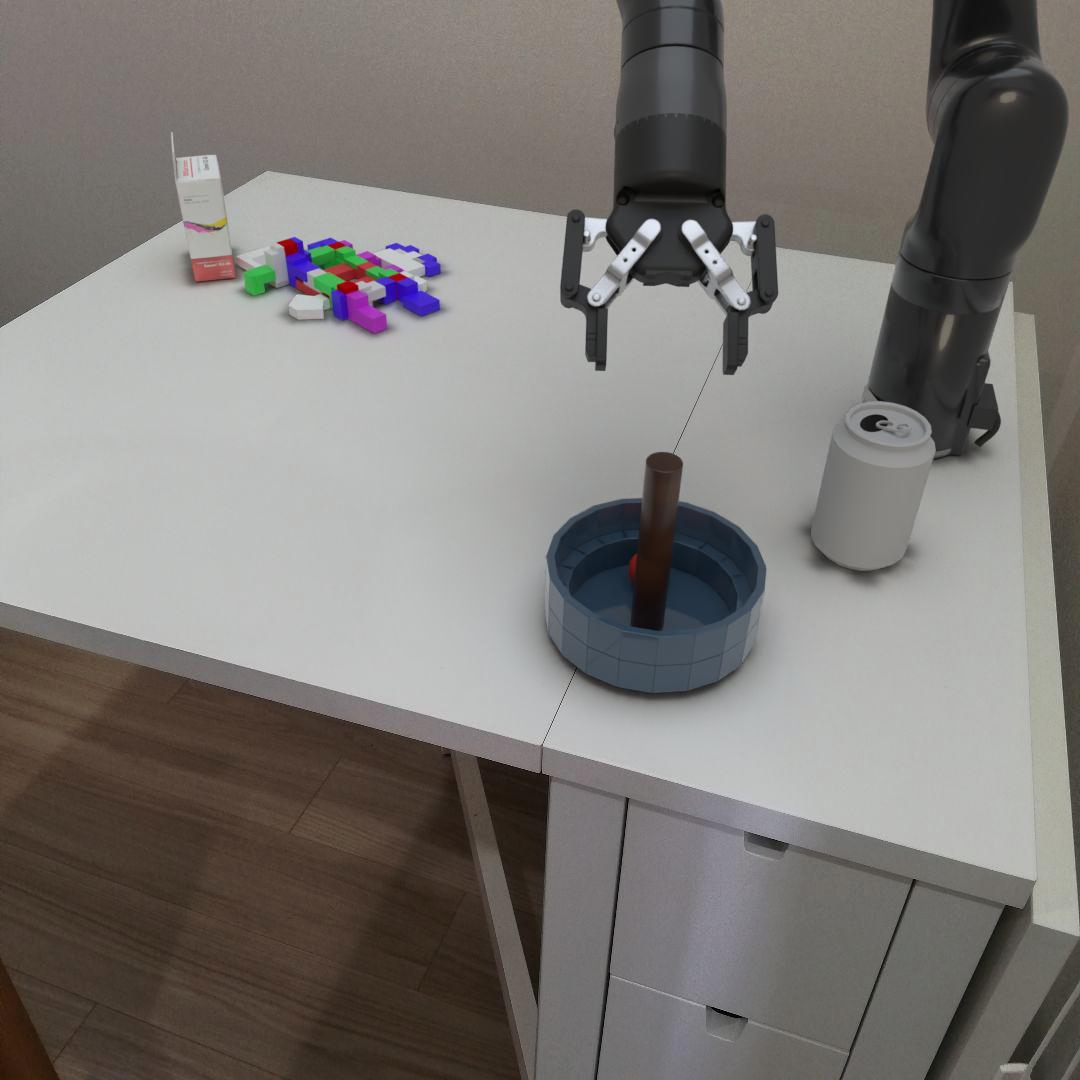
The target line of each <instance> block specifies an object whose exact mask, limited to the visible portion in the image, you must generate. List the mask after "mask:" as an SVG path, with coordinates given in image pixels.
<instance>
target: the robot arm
mask: <svg viewBox="0 0 1080 1080" xmlns="http://www.w3.org/2000/svg"><path fill="white" fill-rule="evenodd" d="M615 2H616V4H617V8H618V11H619V14H620V18H621V19H620V20H621V25H622V26H621V40H620V41H621V42H620V45H621V46H620V48H621V49H620V78H619V85H618V91H617V99H616V104H615V125H614V128H613V137H614V138H613V139H614V163H613V166H614V167H613V197H612V198H613V200H612V202H613V203H612V210H611V212H610V214H609V216H608V218H601V217H600V218H599V217H587V216H585V213H584V212H583V210H580V209H572V210H570V211H569V212H568V213H567V214H566V215H567V216H566V224H565V235H564V244H563V254H562V265H561V273H560V274H561V275H560V285H559V295H560V296H559V300H560V304H561V306H562V307H564V308H565V309H574V310H577V311H579V312H581V313H582V314H583V315H584V317H585V342H584V343H585V346H584V347H585V348H584V349H585V350H584V355H585V358H586V361H587V363H594V371H595V372H606V369H607V357H608V325H609V324H608V320H609V308H610V307H611V306H612V304H613V303H614V302H615V301H616V300H617V298H618V297H620V296H621V295H622V294H623V293H624V292H625V291H626V289H627V288H628V287H629V286H630V285H631V283H632V282H633V281H634V280H636V281H637V282H639V283H642V286H643V287H657V286H661V285H670V286H674V287H677V288H689V287H690V285H692V284H696V283H698V285H699V286H700V287H701V289H702V290H703V291H704V292H705V294H706V295H707V297H709V299H711V300H713V301H714V302H715V303H716V304H717V306H718V307H719V308H720V310H721V311H722V312H723V314H724V315H725V318H724V320H723V323H722V375H723V376H734V375H735V374H736V372H737V370H738V368H741V367H742V366H743V365H744V363H745V361H746V359H747V357H748V354H749V318H750V317H753V316H755V315H758V314H761V315H765V314H767V313H769V311H770V310H771V309H772V307H773V305H774V302H776V300H777V298H778V296H779V279H778V264H777V263H778V262H777V260H778V259H777V243H776V228H775V227H776V226H775V219H774V218H773V217H772V216H771V215H770V214H765V213H764V214H760V215H758V217H757V218H756V220H751V221H749V220H748V221H746V220H745V221H733V220H732V219H731V217H730V215H729V214H728V211H727V203H726V202H727V199H726V198H727V197H726V196H727V143H728V142H727V141H728V140H727V138H728V137H727V133H728V132H727V131H728V130H727V129H728V118H727V117H728V100H727V99H728V98H727V90H726V85H725V70H724V69H725V13H724V5H723V2H722V0H615ZM1038 13H1039V12H1038V0H932V15H931V31H930V33H931V34H930V52H929V65H928V75H927V86H926V97H925V98H926V99H925V121H926V127H927V131H928V134H929V137H930V139H931V142H932V144H933V145H934V146H933V150H932V155H931V159H930V163H929V167H928V171H927V174H926V178H925V182H924V186H923V190H922V194H921V196H920V201H919V204H918V207H917V210H916V211H915V212H914V213H912V214H911V215H910V216H909V218H908V219H907V221H906V222H905V226H904V229H903V232H902V237H901V240H900V245H899V250H898V253H897V258H896V262H895V266H894V269H893V270H894V271H893V273H892V279H891V283H890V288H889V291H888V294H887V295H888V296H887V300H886V303H885V308H884V312H883V316H882V321H881V325H880V328H879V333H878V337H877V342H876V345H875V350H874V354H873V359H872V363H871V367H870V371H869V375H868V379H867V384H864V389H863V393H862V399H863V400H862V403H865V402H875V401H882V402H890V403H895V404H899V405H903V406H906V407H908V408H910V409H913V410H915V411H917V412H918V413H919V414H921V415H922V416H924V417H925V418H926V419H927V421H928V422H929V424H930V425H931V430H932V433H931V435H930V436H931V438H932V439H933V441H934V442H935V449H936V451H935V455H934V458H933V459H937V458H942V457H946V456H948V455H954V456H963V453H964V449H965V446H966V443H967V440H968V437H969V434H970V430H971V429H977V430H985V432H984V433H983V434H982V435H980V436H979V437H977V438H976V439H975V440H974V441H973V443H974V444H975V446H977V447H979V448H982V446H983V445H985V444H986V443H987V442H989V441H990V440H991V439H992V438H993V437H994V436H995V435H996V434H997V433H998V432H999V429H1000V427H1001V424H1002V418H1001V414H1000V411H999V406H998V405H999V404H998V402H997V401H998V400H997V397H996V392H995V388H994V384H993V383H987V382H986V380H987V377H988V375H989V371H990V368H991V363H992V362H991V361H992V360H991V357H990V353H989V349H990V346H991V342H992V340H993V336H994V332H995V329H996V326H997V322H998V319H999V316H1000V313H1001V311H1002V307H1003V304H1004V301H1005V296H1006V294H1007V290H1008V288H1009V284H1010V281H1011V277H1012V275H1013V271H1014V268H1015V266H1016V263H1017V260H1018V257H1019V254H1020V252H1021V251H1022V249H1023V248H1024V247H1025V245H1026V244H1027V243H1028V241H1029V240H1030V239H1031V237H1032V235H1033V234H1034V231H1035V229H1036V226H1037V224H1038V221H1039V218H1040V215H1041V213H1042V210H1043V208H1044V205H1045V202H1046V199H1047V197H1048V193H1049V190H1050V188H1051V185H1052V182H1053V180H1054V177H1055V174H1056V171H1057V168H1058V166H1059V163H1060V159H1061V156H1062V153H1063V150H1064V146H1065V142H1066V139H1067V133H1068V130H1069V122H1070V105H1069V104H1070V103H1069V99H1068V96H1067V92H1066V91H1065V89H1064V86H1063V85H1062V83H1061V82H1060V81H1059V79H1058V78H1057V77H1056V76H1055V75H1054V74H1053V72H1052V71H1051V70H1050V69H1049V68H1048V67H1047V66H1046V65H1045V64H1044V60H1043V56H1042V50H1041V49H1042V48H1041V41H1040V30H1039V29H1040V28H1039V15H1038ZM602 238H605V240H606V242H607V244H608V245H609V246H610V248H611V249H612V250H613V252H614V254H615V255H616V257H615V258H614V259H613V260H612V261H611V263H610V264H609V265H608V267H607V268H606V270H605V271H604V273H603V275H602V276H601V277H600V278H599V279H598V281H597V282H596V283H595V284H594V285H593V287H592V288H591V287H588V286H585V285H583V284H580V283H581V275H582V273H581V272H582V263H583V253H589V252H592V250H594V249H595V246H596V243H597V242H598V240H600V239H602ZM731 241H733V242H736V243H737V244H738V245H739V248H740V251H741V253H742V254H743V256H747V257H750V269H751V288H752V289H751V290H750V291H748V292H746V290H745V289H744V288H743V286H742V285H741V284H740V282H739V281H738V280H737V278H736V277H735V275H734V272H733V269H732V268H731V265H729V263H728V262H727V261H726V259H724V257H723V256H722V253H723V252H724V251H725V249H726V248H727V247H728V245H730V242H731Z"/></svg>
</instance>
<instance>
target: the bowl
mask: <svg viewBox="0 0 1080 1080" xmlns="http://www.w3.org/2000/svg"><path fill="white" fill-rule="evenodd" d="M641 506H642V497H636V498H635V497H631V498H629V497H628V498H627V497H626V498H619V499H615V500H611V501H607V502H603V503H598V504H595V505H593V506H590V507H589V508H587V509H585V510H583V511H581V512H579V513H577V514H575V515H573V516H571V517H570V518H568V520H567V521H565V523H564V524H563V525H562V526H561V527H560V528H559V529H558V530H557V531H556V532H555V533H554V534H553V536H552V538H551V541H550V543H549V547H548V550H547V552H546V555H545V583H544V584H545V586H544V587H545V588H544V616H545V621H546V623H545V624H546V628H547V629H546V630H547V634H548V635H549V636H550V638H551V640H552V642H553V643H554V645H555V646H556V648H557V650H558V651H559V652H560V654H561V656H563V657H564V658H565V659H566V660H568V661H569V663H572V665H574V666H575V667H576V668H578V669H580V670H581V672H583V673H584V674H586V675H588V676H590V677H593V678H596V679H597V680H600V681H602V682H604V683H606V684H609V685H611V686H614V687H617V688H621V689H627V690H633V691H639V692H645V693H650V694H651V693H654V694H655V693H656V694H659V693H673V692H674V693H675V692H687V691H691V690H694V689H698V688H701V687H704V686H707V685H709V684H714V683H716V682H719V681H721V680H722V679H723V678H725V677H726V676H728V675H729V674H731V673H732V672H733V671H734V670H736V669H738V668H739V667H741V666H742V664H743V662H744V661H745V659H746V657H747V656H748V655H749V653H750V652H751V649H753V646H754V645H755V640H756V637H757V631H758V625H759V621H760V615H761V612H762V611H761V610H762V605H763V601H764V595H765V591H766V581H767V565H766V563H765V560H764V558H763V556H762V552H761V550H760V548H759V546H758V545H757V544H756V543H755V541H753V539H752V538H751V537H750V536H749V535H748V534H747V533H746V532H745V531H744V530H743V529H742V528H741V527H740V526H738V525H737V524H735V523H734V522H732V521H730V520H729V519H727V518H726V517H724V516H722V515H720V514H719V513H717V512H715V511H712V510H711V509H710V510H709V509H707V508H704V507H701V506H698V505H695V504H692V503H689V502H687V501H682V500H681V501H680V500H679V503H678V511H677V519H676V527H675V535H674V544H673V552H672V560H671V568H670V576H669V585H668V593H667V601H666V609H665V617H664V625H663V627H662V628H661V629H660V630H659V631H656V630H649V629H643V628H637V627H633V626H632V624H631V611H632V600H633V590H634V583H633V581H632V580H631V578H630V575H629V563H630V561H631V559H632V557H633V556H634V555H635V554H636V553H637V548H638V538H639V527H640V517H641Z"/></svg>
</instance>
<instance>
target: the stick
mask: <svg viewBox="0 0 1080 1080" xmlns="http://www.w3.org/2000/svg"><path fill="white" fill-rule="evenodd" d="M683 470H684V461H683V459H682V458H681V457H680V456H678V455H677V454H675V453H673V452H668V451H658V452H653V453H651V454H649V455H648V456H647V457H646V459H645V466H644V476H643V478H644V479H643V487H642V496H641V498H642V506H641V517H640V527H639V538H638V548H637V559H636V569H635V580H634V590H633V600H632V611H631V624H632V626H633V627H637V628H643V629H649V630H656V631H659V630H660V629H661V628H662V627H663V625H664V617H665V609H666V601H667V593H668V585H669V576H670V568H671V560H672V552H673V544H674V535H675V527H676V519H677V511H678V503H679V501H680V494H681V487H682V486H681V485H682V477H683Z"/></svg>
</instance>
